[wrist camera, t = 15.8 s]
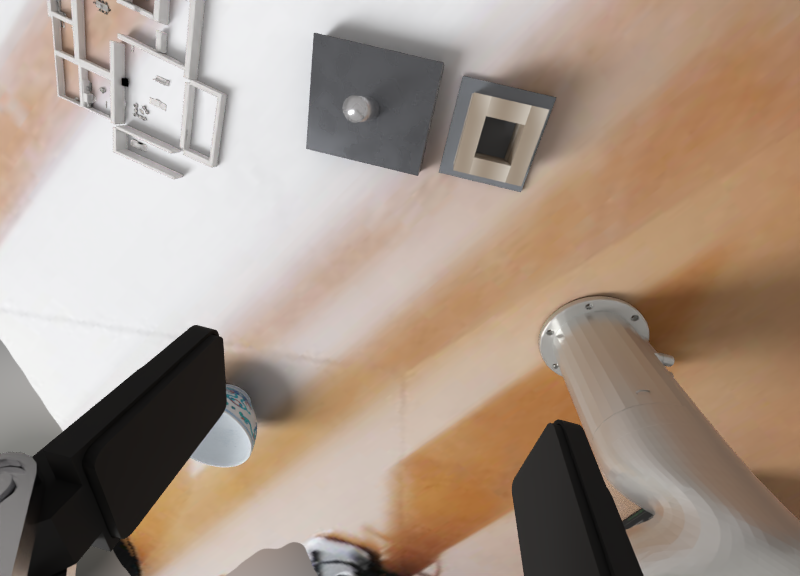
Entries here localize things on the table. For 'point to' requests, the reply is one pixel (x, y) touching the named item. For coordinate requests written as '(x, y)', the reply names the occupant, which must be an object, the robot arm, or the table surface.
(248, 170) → the table surface
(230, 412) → the chinaware
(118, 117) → the floor plan model
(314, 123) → the post stand
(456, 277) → the table surface
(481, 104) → the collar
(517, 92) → the mat
